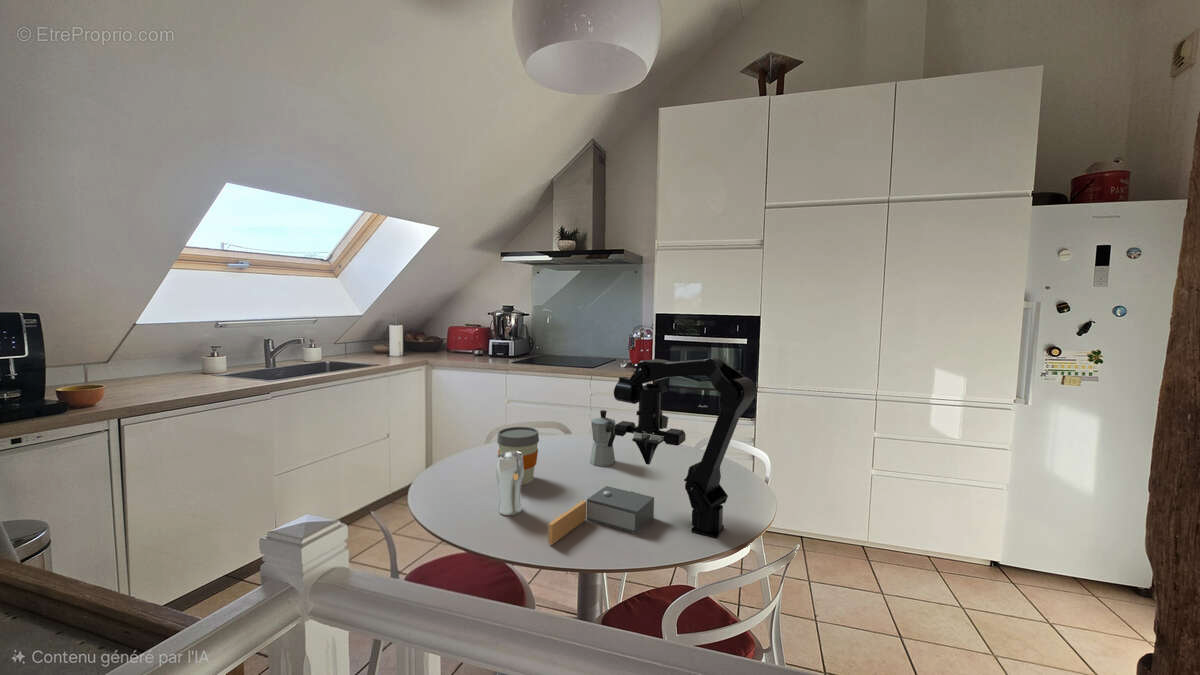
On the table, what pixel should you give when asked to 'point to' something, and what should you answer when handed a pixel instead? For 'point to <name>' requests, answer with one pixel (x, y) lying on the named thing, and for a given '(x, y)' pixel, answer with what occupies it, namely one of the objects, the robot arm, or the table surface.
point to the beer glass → (510, 481)
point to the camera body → (620, 509)
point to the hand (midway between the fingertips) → (648, 464)
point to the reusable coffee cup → (521, 447)
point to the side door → (566, 522)
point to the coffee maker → (602, 441)
